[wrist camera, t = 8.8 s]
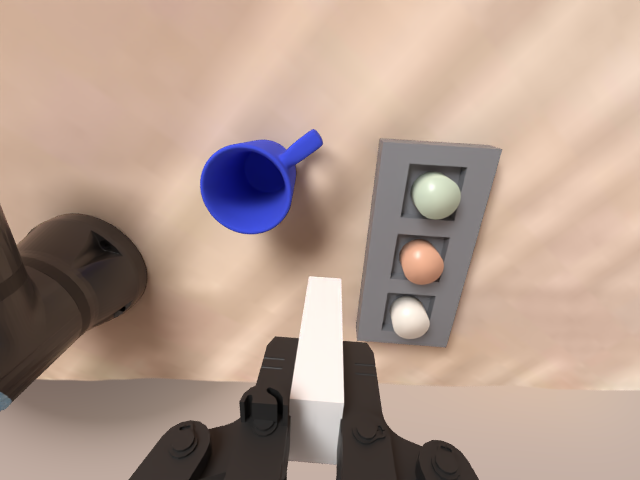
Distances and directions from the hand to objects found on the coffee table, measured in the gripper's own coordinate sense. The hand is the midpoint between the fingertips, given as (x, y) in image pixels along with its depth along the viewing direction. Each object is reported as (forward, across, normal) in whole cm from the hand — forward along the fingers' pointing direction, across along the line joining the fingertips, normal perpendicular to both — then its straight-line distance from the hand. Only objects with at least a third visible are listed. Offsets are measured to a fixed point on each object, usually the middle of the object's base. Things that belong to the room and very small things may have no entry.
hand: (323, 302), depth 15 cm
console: (+24, +11, -8) cm, 28 cm away
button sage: (+22, +11, 0) cm, 25 cm away
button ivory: (+22, +11, -16) cm, 29 cm away
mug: (+25, -6, +2) cm, 25 cm away
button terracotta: (+22, +11, -8) cm, 26 cm away
